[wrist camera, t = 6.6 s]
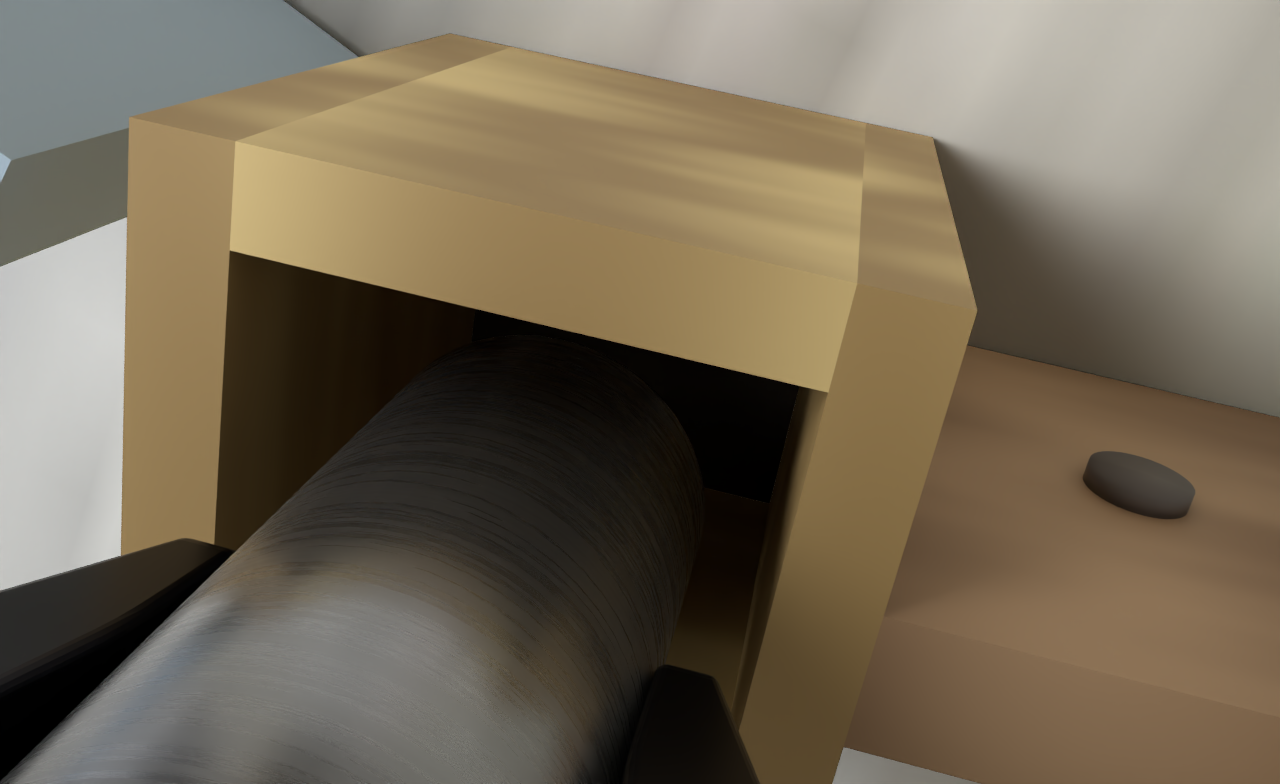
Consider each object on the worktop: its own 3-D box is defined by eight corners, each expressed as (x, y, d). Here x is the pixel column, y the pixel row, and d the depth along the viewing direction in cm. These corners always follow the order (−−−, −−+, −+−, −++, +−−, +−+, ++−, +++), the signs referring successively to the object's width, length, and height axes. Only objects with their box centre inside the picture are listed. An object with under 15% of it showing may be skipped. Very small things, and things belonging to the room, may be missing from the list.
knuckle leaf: (1832, 331, 13) (2709, 707, 7) (1573, 760, 16) (2055, 1340, 9) (450, 34, 15) (129, 117, 9) (399, 463, 17) (117, 783, 11)
